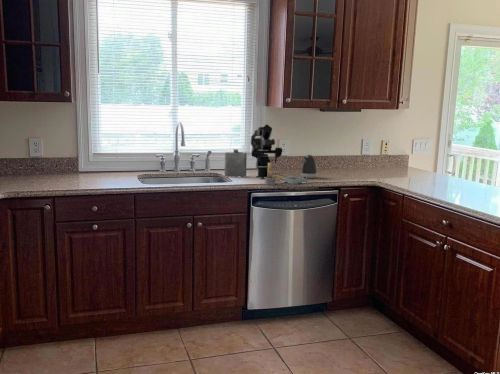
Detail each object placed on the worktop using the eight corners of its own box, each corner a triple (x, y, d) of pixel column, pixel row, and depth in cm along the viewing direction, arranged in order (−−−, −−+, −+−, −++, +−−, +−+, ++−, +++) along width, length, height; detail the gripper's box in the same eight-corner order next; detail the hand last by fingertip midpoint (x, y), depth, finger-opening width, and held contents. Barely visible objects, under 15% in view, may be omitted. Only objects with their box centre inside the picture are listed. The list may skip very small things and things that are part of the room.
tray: (281, 181, 314) (281, 177, 314) (295, 180, 320) (295, 176, 320) (292, 184, 305) (292, 180, 305) (306, 183, 311) (306, 178, 311)
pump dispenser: (297, 177, 331) (298, 154, 328) (307, 176, 338) (308, 153, 336) (309, 179, 324) (310, 156, 321) (319, 178, 331) (320, 155, 329)
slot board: (270, 178, 325) (270, 174, 324) (282, 177, 330) (282, 173, 330) (281, 181, 315) (281, 177, 314) (293, 180, 320) (294, 176, 320)
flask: (225, 175, 335) (225, 148, 331) (246, 176, 334) (246, 149, 330) (224, 176, 331) (224, 149, 328) (246, 177, 330) (246, 149, 327)
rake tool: (265, 183, 307) (265, 162, 305) (273, 183, 308) (273, 162, 305) (266, 185, 302) (267, 163, 300) (274, 185, 303) (275, 163, 300)
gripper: (252, 134, 310) (254, 154, 301) (282, 134, 312) (285, 154, 304) (250, 146, 319) (252, 165, 310) (279, 146, 321) (282, 165, 313)
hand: (268, 162), depth 309 cm, fingers open, 9 cm apart
